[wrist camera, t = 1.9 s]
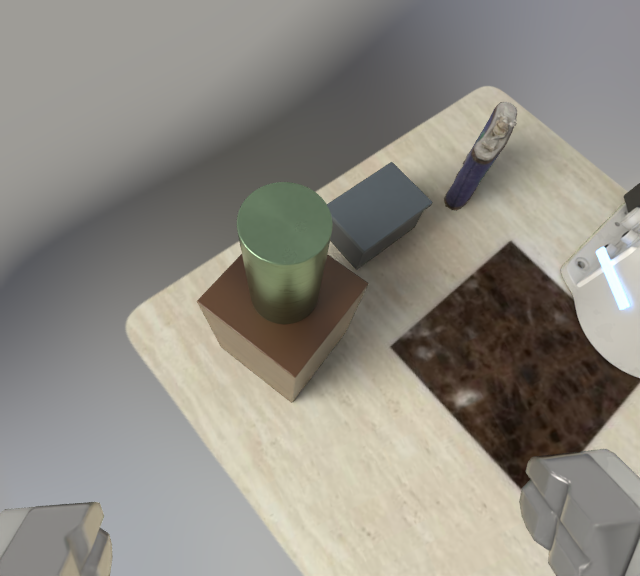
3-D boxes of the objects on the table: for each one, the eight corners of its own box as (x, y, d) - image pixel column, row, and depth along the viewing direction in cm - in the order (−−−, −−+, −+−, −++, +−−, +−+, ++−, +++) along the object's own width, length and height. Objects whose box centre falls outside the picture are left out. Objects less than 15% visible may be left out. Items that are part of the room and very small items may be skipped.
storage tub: (381, 190, 52) (391, 161, 47) (418, 227, 50) (432, 202, 45) (319, 232, 49) (323, 206, 44) (356, 273, 47) (364, 251, 42)
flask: (468, 151, 55) (509, 83, 45) (489, 162, 54) (535, 95, 45) (439, 204, 51) (476, 142, 42) (461, 215, 51) (504, 156, 41)
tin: (279, 249, 33) (277, 166, 24) (332, 287, 32) (351, 215, 23) (236, 297, 31) (216, 227, 22) (290, 338, 31) (293, 283, 21)
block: (277, 281, 46) (275, 217, 34) (346, 332, 45) (368, 283, 33) (220, 346, 43) (196, 301, 31) (291, 403, 41) (295, 378, 29)
